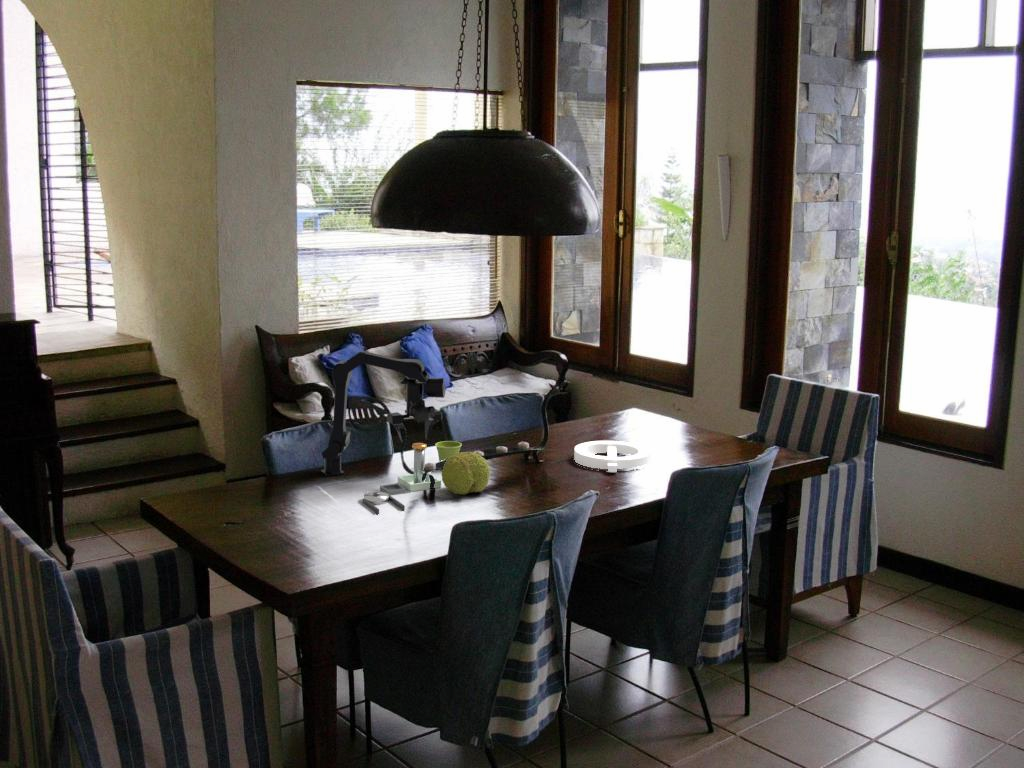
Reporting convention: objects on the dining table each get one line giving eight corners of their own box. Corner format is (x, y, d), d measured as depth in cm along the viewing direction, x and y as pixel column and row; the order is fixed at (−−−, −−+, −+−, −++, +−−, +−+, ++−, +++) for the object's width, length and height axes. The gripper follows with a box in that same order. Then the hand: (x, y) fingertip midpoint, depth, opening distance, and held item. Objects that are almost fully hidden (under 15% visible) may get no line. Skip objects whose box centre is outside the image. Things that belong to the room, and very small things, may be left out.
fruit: (472, 503, 364) (450, 462, 362) (447, 508, 375) (426, 469, 373) (505, 478, 374) (484, 439, 372) (480, 484, 385) (459, 446, 384)
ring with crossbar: (611, 448, 438) (611, 437, 437) (665, 464, 417) (665, 452, 416) (558, 460, 420) (558, 447, 419) (612, 477, 399) (612, 464, 398)
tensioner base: (374, 490, 375) (374, 485, 375) (399, 487, 380) (399, 482, 379) (385, 497, 368) (385, 492, 367) (410, 494, 372) (410, 489, 372)
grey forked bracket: (358, 500, 364) (358, 491, 363) (385, 497, 368) (385, 487, 367) (376, 515, 350) (376, 505, 349) (404, 511, 354) (404, 501, 354)
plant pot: (449, 472, 399) (450, 448, 397) (429, 467, 404) (430, 444, 402) (466, 467, 406) (467, 443, 404) (446, 462, 411) (447, 439, 410)
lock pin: (409, 483, 381) (410, 443, 378) (422, 482, 383) (423, 442, 381) (415, 487, 377) (415, 446, 374) (428, 485, 379) (429, 445, 377)
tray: (397, 484, 382) (397, 476, 382) (427, 481, 388) (427, 472, 387) (410, 493, 373) (410, 484, 372) (440, 489, 378) (440, 480, 378)
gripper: (398, 403, 375) (398, 448, 378) (449, 398, 384) (448, 443, 387) (386, 397, 385) (386, 441, 388) (435, 392, 394) (435, 436, 397)
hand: (414, 440), depth 390 cm, fingers open, 9 cm apart
